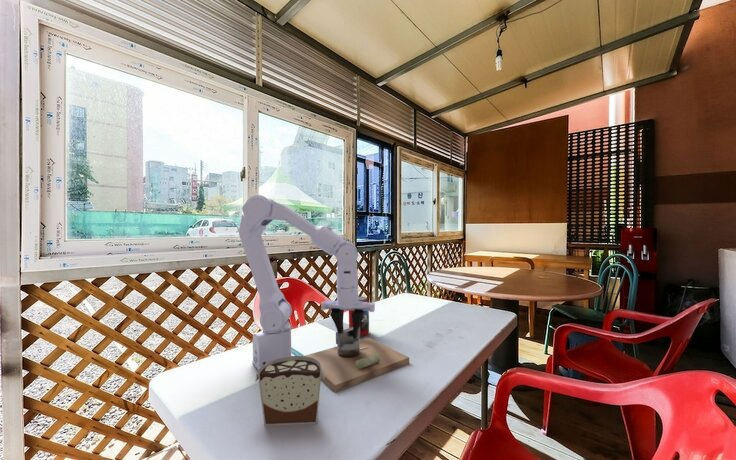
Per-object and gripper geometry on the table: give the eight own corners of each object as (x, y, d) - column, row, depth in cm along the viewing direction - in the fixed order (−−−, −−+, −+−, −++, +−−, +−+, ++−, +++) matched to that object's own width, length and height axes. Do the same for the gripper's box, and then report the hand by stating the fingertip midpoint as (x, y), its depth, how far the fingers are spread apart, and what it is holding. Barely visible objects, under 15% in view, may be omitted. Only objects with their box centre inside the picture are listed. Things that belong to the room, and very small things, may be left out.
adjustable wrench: (273, 342, 89) (288, 338, 93) (273, 345, 89) (288, 341, 93) (293, 357, 79) (310, 351, 82) (294, 360, 79) (310, 355, 82)
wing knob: (345, 359, 74) (345, 335, 74) (331, 352, 78) (331, 329, 78) (365, 351, 79) (365, 328, 79) (351, 345, 83) (350, 323, 83)
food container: (328, 403, 59) (327, 353, 59) (325, 423, 52) (324, 367, 52) (266, 405, 58) (265, 355, 58) (255, 426, 52) (255, 370, 52)
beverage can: (369, 337, 94) (368, 300, 94) (348, 337, 94) (347, 300, 94) (369, 330, 101) (368, 295, 101) (349, 330, 101) (349, 295, 101)
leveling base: (335, 392, 62) (334, 375, 62) (301, 362, 77) (301, 349, 77) (409, 363, 75) (409, 349, 75) (368, 342, 90) (368, 331, 90)
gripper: (376, 284, 81) (377, 333, 81) (327, 283, 84) (328, 330, 84) (371, 289, 74) (372, 342, 74) (317, 288, 77) (318, 339, 77)
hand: (348, 336), depth 79 cm, fingers closed on wing knob, 3 cm apart
